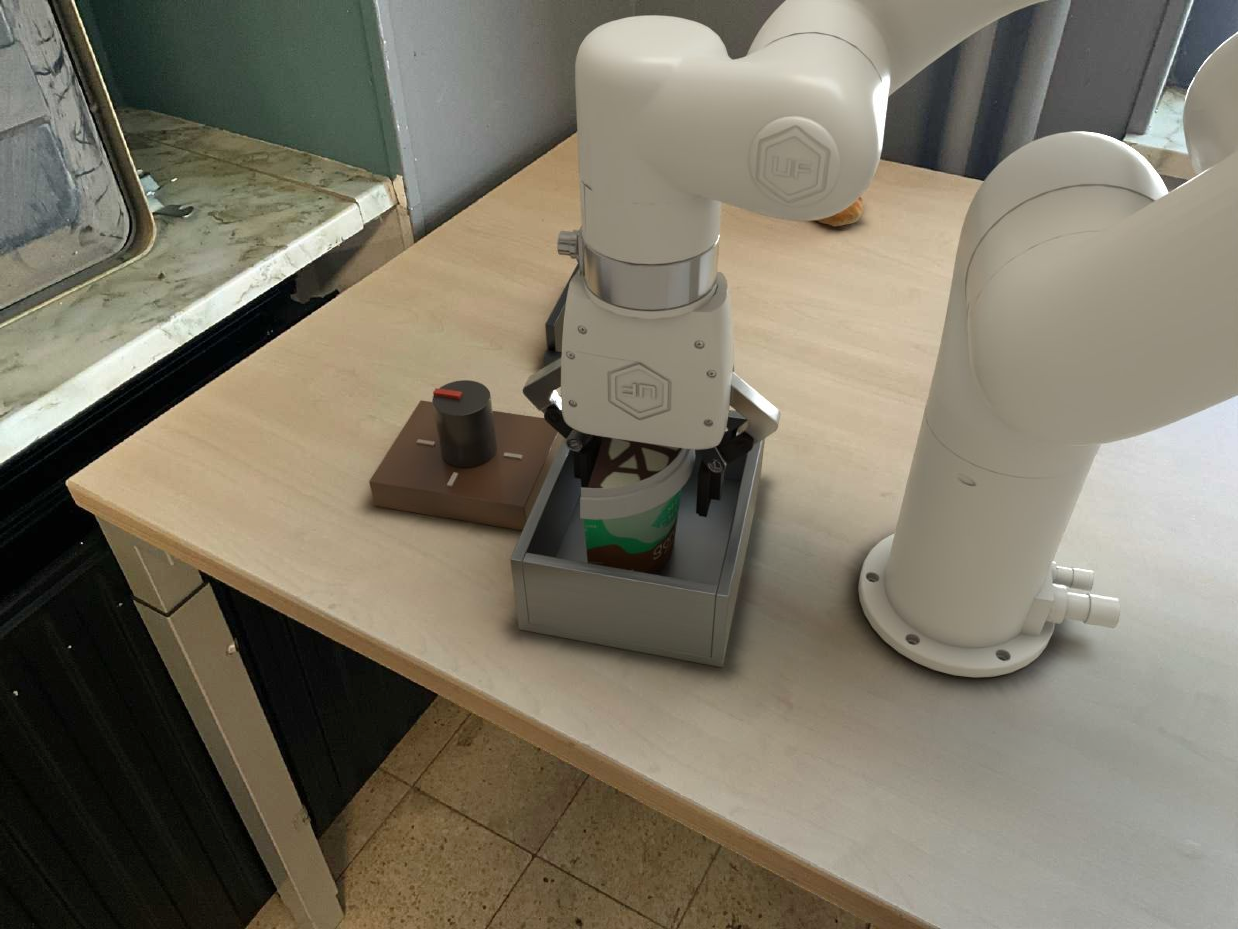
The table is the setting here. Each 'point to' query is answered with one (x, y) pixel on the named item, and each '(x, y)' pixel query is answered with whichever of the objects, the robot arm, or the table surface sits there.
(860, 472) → the table surface
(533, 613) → the grey open box
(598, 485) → the food container
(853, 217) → the pastry
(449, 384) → the tap knob
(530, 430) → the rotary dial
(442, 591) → the table surface
